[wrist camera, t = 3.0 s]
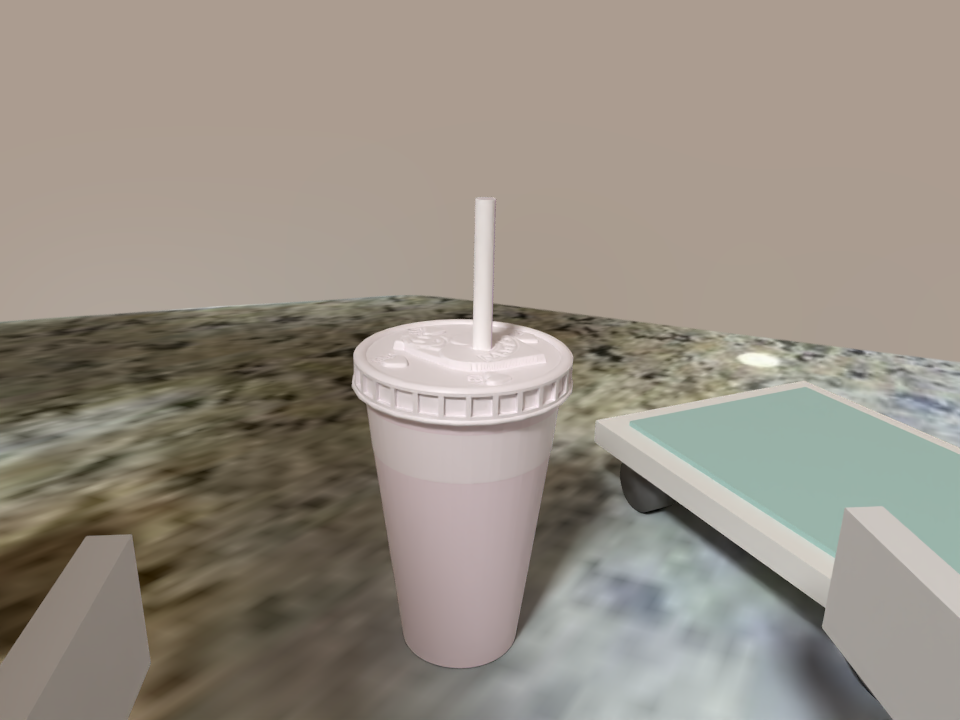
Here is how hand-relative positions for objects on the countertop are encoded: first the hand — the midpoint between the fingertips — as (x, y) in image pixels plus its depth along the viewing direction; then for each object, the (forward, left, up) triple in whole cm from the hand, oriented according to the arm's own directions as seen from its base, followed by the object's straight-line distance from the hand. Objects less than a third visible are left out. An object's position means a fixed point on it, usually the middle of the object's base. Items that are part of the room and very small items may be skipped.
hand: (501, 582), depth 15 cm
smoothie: (-9, +3, -8) cm, 13 cm away
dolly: (-7, +18, -8) cm, 21 cm away
